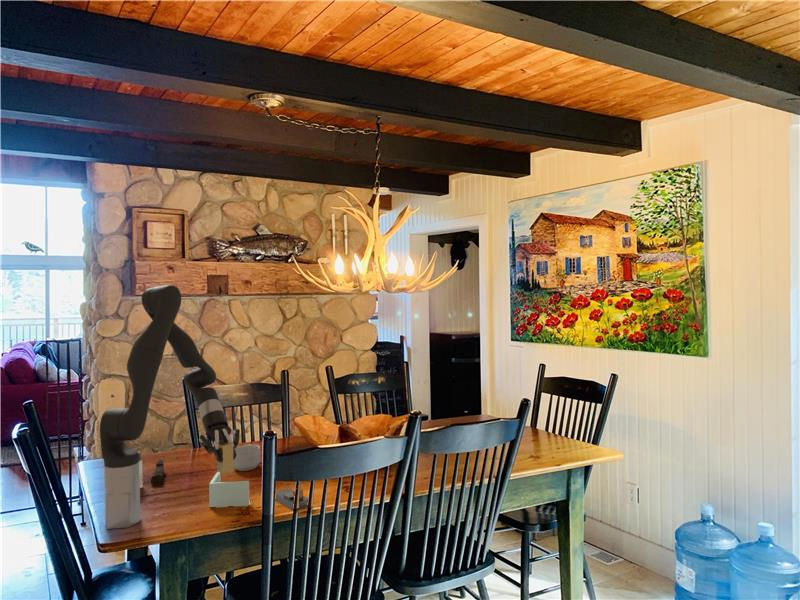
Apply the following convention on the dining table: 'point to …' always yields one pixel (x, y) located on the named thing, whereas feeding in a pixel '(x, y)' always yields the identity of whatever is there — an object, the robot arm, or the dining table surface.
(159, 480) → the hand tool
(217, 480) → the right angle wall
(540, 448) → the dining table surface
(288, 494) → the body
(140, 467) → the jar
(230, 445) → the lever cap
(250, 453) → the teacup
